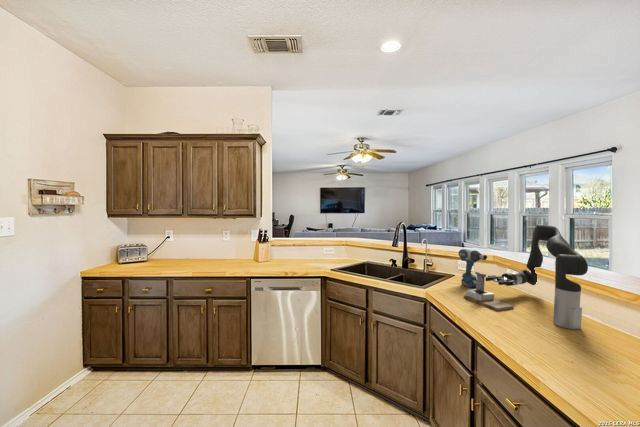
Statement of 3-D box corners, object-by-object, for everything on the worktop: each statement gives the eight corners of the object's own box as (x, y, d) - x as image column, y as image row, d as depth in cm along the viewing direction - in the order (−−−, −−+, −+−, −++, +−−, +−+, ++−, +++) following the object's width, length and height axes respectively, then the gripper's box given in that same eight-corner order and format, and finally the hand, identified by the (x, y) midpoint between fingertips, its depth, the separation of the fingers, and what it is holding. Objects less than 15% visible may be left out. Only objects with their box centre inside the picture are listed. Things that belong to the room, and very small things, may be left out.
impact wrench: (479, 292, 188) (481, 253, 186) (454, 282, 209) (456, 247, 208) (489, 291, 190) (491, 252, 189) (463, 281, 211) (465, 247, 210)
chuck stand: (513, 308, 158) (513, 299, 158) (497, 311, 154) (497, 301, 154) (478, 296, 179) (478, 288, 179) (463, 298, 175) (463, 289, 174)
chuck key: (486, 298, 169) (488, 274, 168) (481, 299, 168) (482, 274, 167) (476, 295, 175) (477, 271, 175) (471, 296, 174) (472, 271, 173)
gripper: (500, 270, 186) (482, 272, 181) (523, 275, 173) (504, 277, 167) (500, 282, 187) (481, 284, 181) (522, 288, 174) (503, 290, 168)
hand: (492, 281), depth 174 cm, fingers open, 8 cm apart
